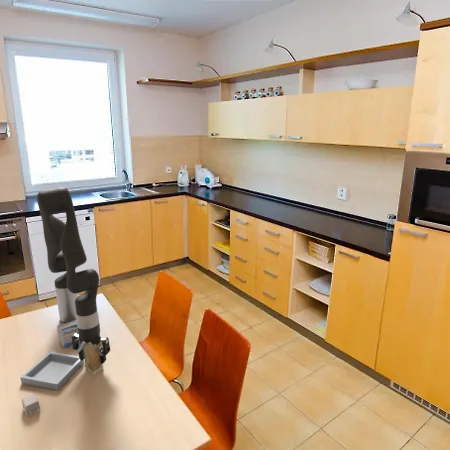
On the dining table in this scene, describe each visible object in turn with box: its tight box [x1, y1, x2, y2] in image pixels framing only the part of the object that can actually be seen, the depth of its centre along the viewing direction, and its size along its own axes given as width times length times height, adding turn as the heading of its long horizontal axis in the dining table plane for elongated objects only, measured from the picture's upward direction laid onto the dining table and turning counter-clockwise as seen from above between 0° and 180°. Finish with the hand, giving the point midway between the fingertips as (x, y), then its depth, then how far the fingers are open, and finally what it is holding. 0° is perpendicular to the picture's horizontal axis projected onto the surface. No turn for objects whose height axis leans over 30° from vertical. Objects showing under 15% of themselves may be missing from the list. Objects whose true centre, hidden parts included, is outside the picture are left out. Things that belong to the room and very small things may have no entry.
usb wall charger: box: [21, 393, 41, 417], centre depth 113 cm, size 4×7×4 cm, turn 41°
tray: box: [20, 351, 85, 392], centre depth 130 cm, size 15×15×3 cm
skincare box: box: [83, 342, 104, 375], centre depth 131 cm, size 6×4×12 cm
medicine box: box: [57, 320, 81, 348], centre depth 148 cm, size 8×4×9 cm, turn 131°
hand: (92, 360), depth 132 cm, fingers open, 8 cm apart
